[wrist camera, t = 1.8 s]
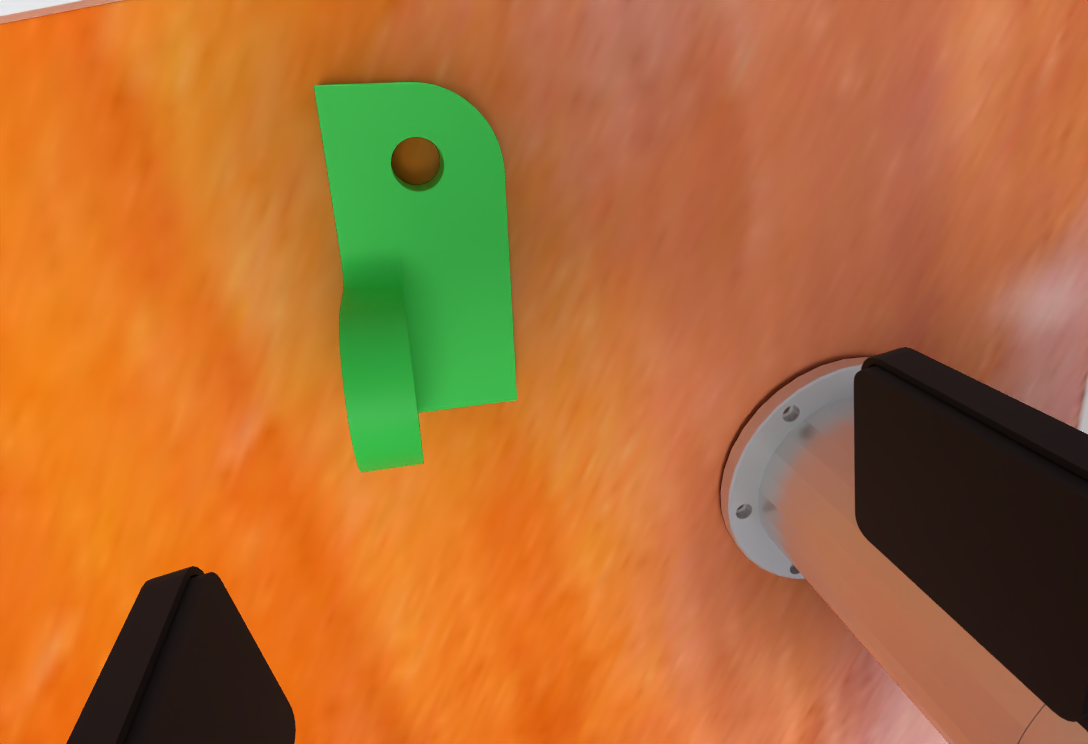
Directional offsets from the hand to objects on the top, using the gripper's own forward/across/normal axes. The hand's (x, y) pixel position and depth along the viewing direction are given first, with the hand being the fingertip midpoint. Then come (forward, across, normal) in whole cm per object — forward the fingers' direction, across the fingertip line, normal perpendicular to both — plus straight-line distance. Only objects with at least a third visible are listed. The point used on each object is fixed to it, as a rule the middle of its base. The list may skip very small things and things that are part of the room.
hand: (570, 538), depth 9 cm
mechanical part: (+19, +1, 0) cm, 19 cm away
